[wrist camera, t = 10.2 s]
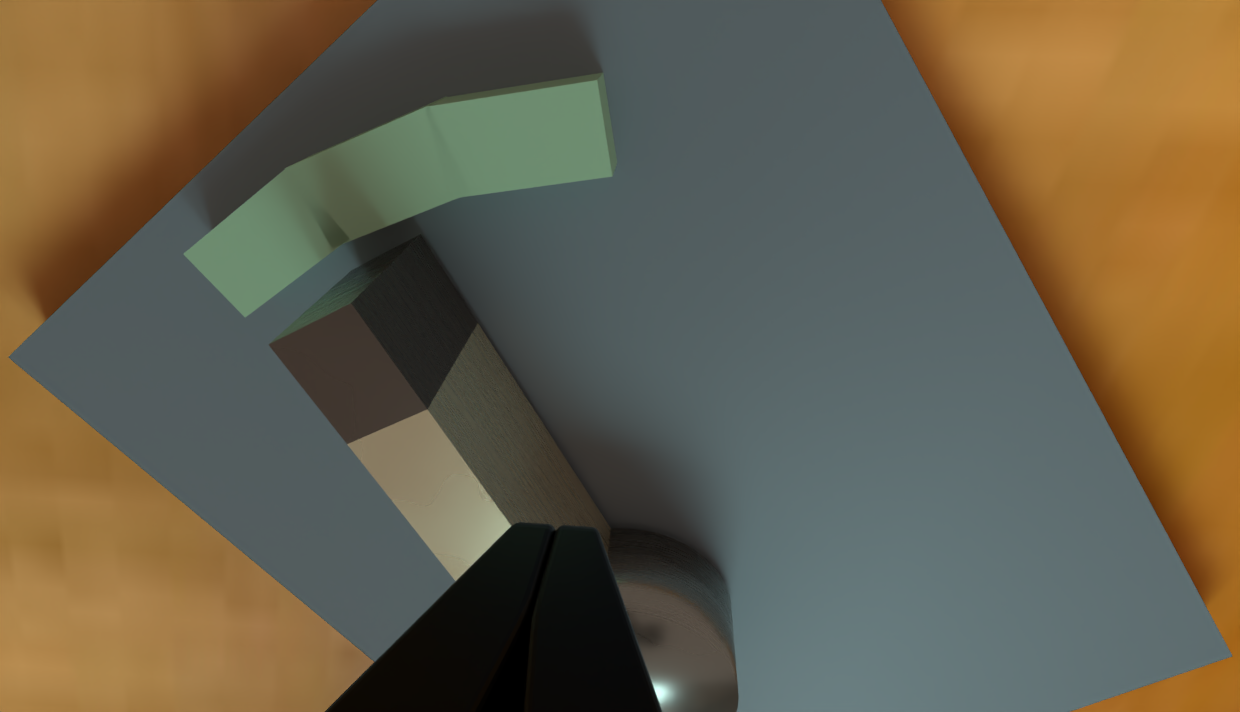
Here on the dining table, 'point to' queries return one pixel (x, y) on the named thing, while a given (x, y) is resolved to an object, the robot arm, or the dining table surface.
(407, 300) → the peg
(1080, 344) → the dining table surface
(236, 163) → the board
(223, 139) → the dining table surface
